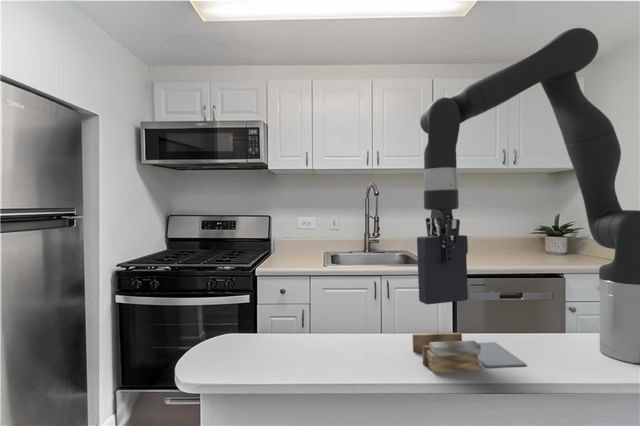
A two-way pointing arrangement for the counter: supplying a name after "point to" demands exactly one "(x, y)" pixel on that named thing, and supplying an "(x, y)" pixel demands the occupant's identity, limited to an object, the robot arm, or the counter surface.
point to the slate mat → (497, 356)
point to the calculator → (441, 271)
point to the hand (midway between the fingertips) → (442, 262)
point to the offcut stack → (453, 356)
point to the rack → (423, 341)
